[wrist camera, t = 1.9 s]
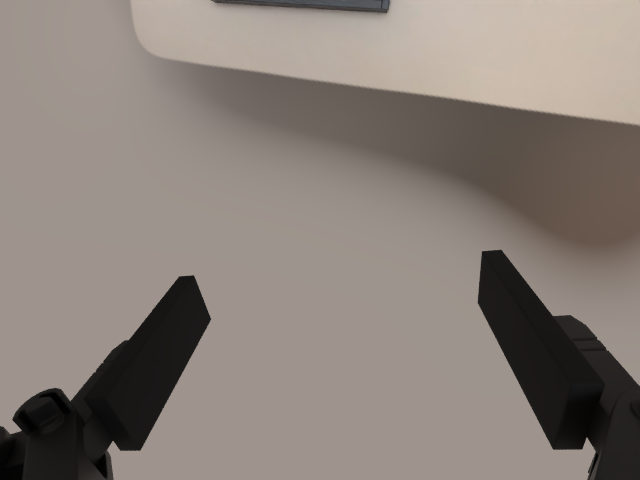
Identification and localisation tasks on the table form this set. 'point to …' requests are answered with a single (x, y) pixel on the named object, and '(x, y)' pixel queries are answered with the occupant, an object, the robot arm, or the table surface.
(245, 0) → the tray
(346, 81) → the table surface
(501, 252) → the robot arm
